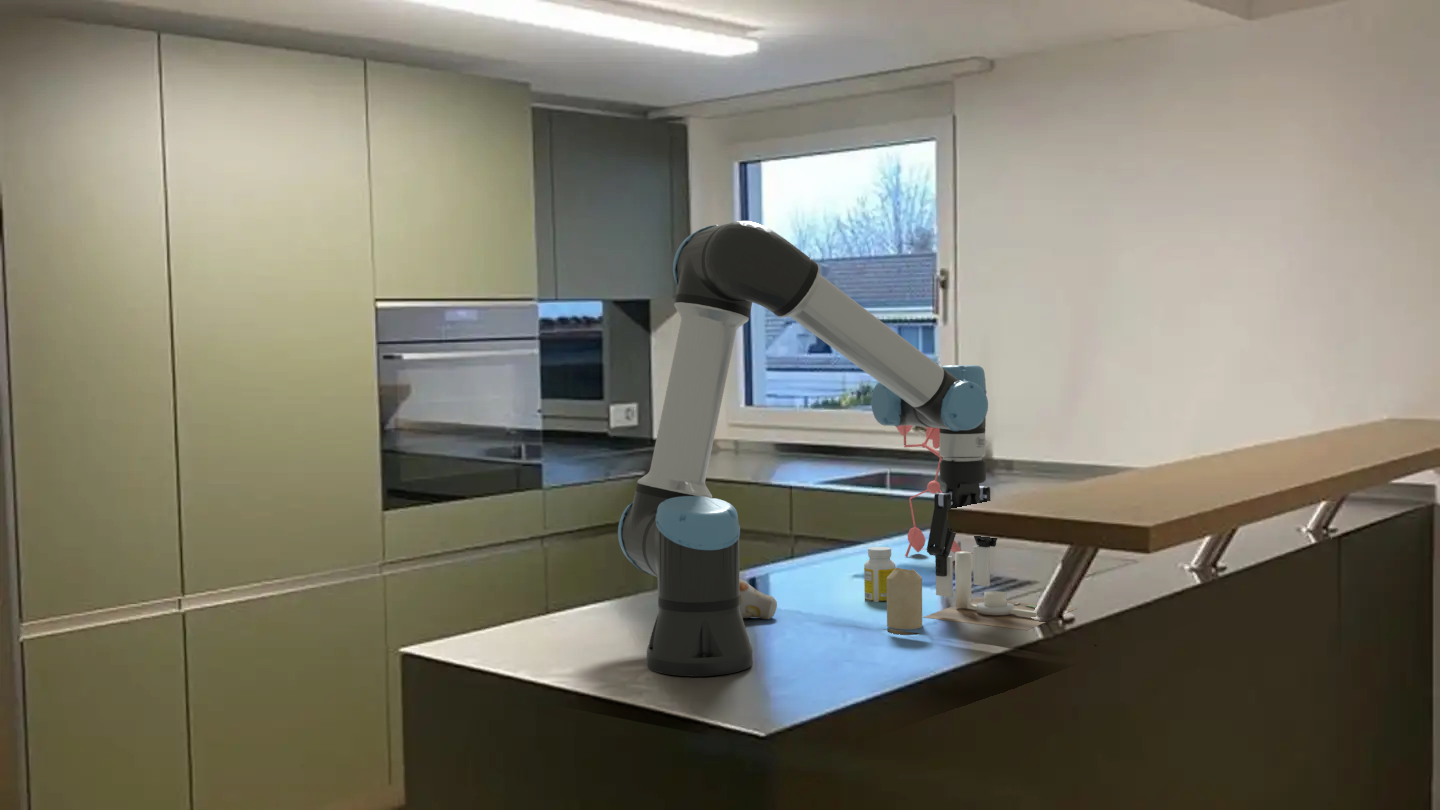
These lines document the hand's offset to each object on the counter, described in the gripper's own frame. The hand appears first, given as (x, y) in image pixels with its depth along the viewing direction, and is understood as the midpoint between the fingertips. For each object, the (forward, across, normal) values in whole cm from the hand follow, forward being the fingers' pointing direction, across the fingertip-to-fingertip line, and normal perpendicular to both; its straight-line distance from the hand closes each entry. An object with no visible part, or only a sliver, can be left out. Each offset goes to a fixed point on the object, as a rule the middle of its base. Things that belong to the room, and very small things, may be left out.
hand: (963, 590), depth 231 cm
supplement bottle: (+4, -1, +16) cm, 17 cm away
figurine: (+4, +50, +34) cm, 61 cm away
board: (+4, +1, -6) cm, 8 cm away
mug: (+4, -24, +27) cm, 36 cm away
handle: (+3, 0, -6) cm, 7 cm away
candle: (+4, -17, +1) cm, 17 cm away
